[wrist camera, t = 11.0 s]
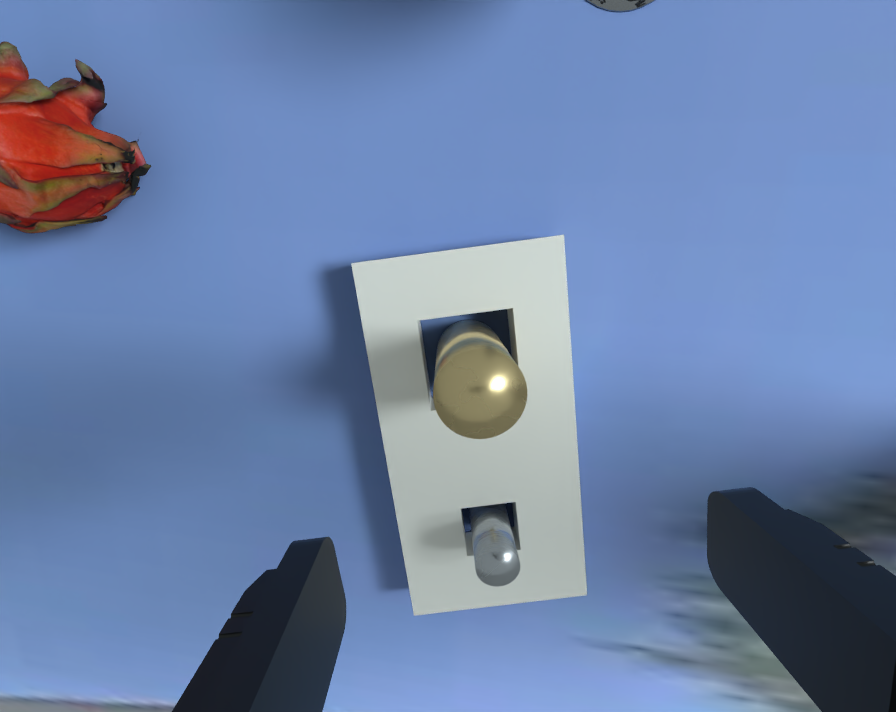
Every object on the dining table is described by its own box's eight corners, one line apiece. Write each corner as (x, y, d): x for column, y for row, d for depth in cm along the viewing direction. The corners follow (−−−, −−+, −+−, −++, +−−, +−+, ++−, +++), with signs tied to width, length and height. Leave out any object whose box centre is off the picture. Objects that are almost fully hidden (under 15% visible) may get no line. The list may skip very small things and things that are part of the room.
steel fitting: (503, 488, 30) (518, 545, 24) (507, 521, 30) (522, 583, 24) (466, 493, 30) (472, 550, 24) (471, 525, 30) (477, 589, 25)
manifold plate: (552, 236, 26) (563, 234, 23) (575, 568, 31) (587, 595, 29) (359, 262, 26) (351, 263, 24) (416, 587, 32) (414, 615, 29)
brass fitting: (497, 315, 27) (523, 343, 18) (504, 378, 28) (531, 433, 19) (432, 324, 27) (426, 355, 18) (441, 386, 28) (439, 444, 19)
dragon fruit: (-12, 120, 25) (201, 180, 28) (-99, 233, 22) (151, 289, 25) (-154, -50, 18) (157, 53, 20) (-318, 83, 15) (77, 186, 17)
